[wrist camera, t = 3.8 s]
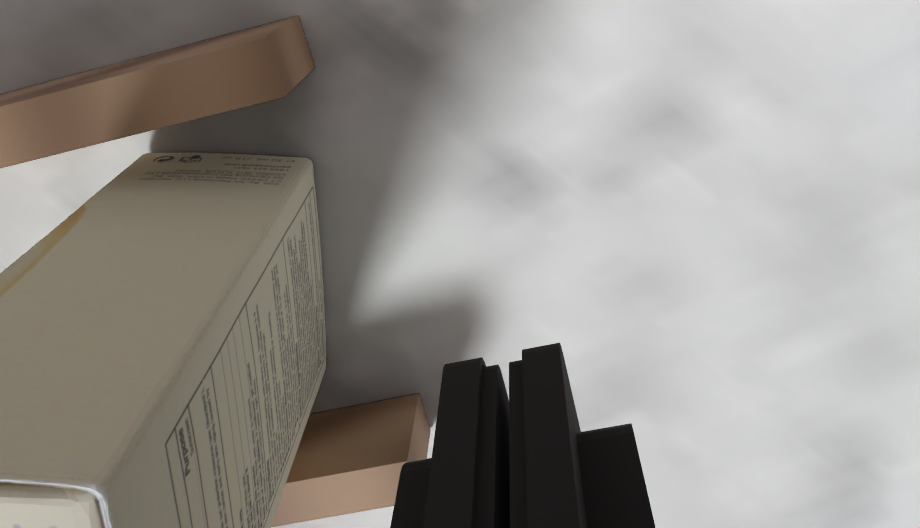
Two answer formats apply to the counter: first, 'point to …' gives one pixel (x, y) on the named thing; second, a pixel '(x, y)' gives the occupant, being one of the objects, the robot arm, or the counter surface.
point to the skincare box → (164, 348)
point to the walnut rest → (192, 97)
